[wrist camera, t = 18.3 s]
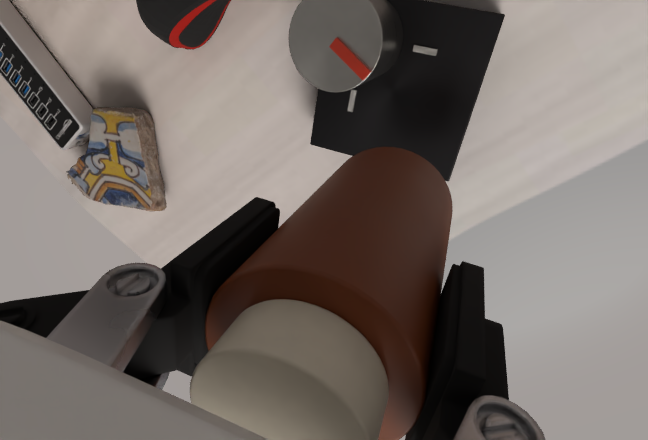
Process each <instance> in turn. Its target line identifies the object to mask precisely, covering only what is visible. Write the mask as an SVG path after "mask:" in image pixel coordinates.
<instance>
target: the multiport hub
mask: <svg viewBox="0 0 648 440" xmlns="http://www.w3.org/2000/svg"><path fill="white" fill-rule="evenodd" d="M0 74H1V76H2V77H3V78H4V79H5V80H6V82H7V83H8V84H9V85H10V87H11V88H12V89H13V90H14V92H15V93H16V94H17V95H18V97H19V98H20V99H21V100H22V102H23V103H24V104H25V105H26V107H27V108H28V109H29V110H30V111H31V113H32V114H33V115H34V116H35V118H36V119H37V120H38V121H39V123H40V124H41V125H42V126H43V128H44V129H45V130H46V131H47V133H48V134H49V135H50V136H51V138H52V139H53V140H54V141H55V142H56V144H57V145H58V146H59V147H60V149H62V150H66V149H70V148H73V147H77V146H80V145H83V144H85V143H86V142H87V141H88V139H89V131H90V124H91V118H90V116H91V114H92V111H93V108H92V107H91V106H90V104H89V103H88V102H87V100H86V99H85V98H84V97H83V95H82V94H81V93H80V91H79V90H78V89H77V88H76V86H75V85H74V84H73V82H72V81H71V80H70V78H69V77H68V76H67V75H66V73H65V72H64V71H63V69H62V68H61V67H60V66H59V64H58V63H57V62H56V60H55V59H54V58H53V57H52V55H51V54H50V53H49V51H48V50H47V49H46V47H45V46H44V45H43V44H42V42H41V41H40V40H39V38H38V37H37V36H36V35H35V33H34V32H33V31H32V29H31V28H30V27H29V25H28V24H27V23H26V22H25V20H24V19H23V18H22V16H21V15H20V14H19V13H18V11H17V10H16V9H15V7H14V6H13V5H12V3H11V2H10V1H9V0H0Z"/></svg>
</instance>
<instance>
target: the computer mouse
mask: <svg viewBox="0 0 648 440" xmlns="http://www.w3.org/2000/svg"><path fill="white" fill-rule="evenodd" d="M230 1H231V0H136V2H137V7H138V11H139V14H140V16H141V19H142V20H143V22H144V23H145V25H146V26H147V28H148V29H149V30H150V31H151V32H152V33H153V34H154V35H156V36H157V37H159V38H160V39H161V40H163V41H164V42H166V43H168V44H169V45H171V46H173V47H176V48H185V49H196V48H199V47H200V46H202V45H203V44H205V43H206V42H207V41H208V40H209V39H210V38H211V36H212V35H213V34H214V32H215V30H216V29H217V27H218V25H219V23H220V22H221V20H222V18H223V16H224V13H225V11H226V9H227V6H228V4H229V2H230Z"/></svg>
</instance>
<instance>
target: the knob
mask: <svg viewBox="0 0 648 440" xmlns="http://www.w3.org/2000/svg"><path fill="white" fill-rule="evenodd" d="M402 43H403V27H402V22H401V19H400V17H399V14H398V12H397V11H396V9H395V8H394V7H393V5H392V4H391V3H390V2H388V1H387V0H302V1H301V3H300V4H299V5H298V7H297V9H296V10H295V12H294V15H293V17H292V20H291V24H290V29H289V47H290V53H291V56H292V59H293V62H294V64H295V66H296V68H297V70H298V71H299V73H300V74H301V75H302V77H303V78H304V79H305V80H306V81H307V82H309V83H310V84H311V85H313V86H314V87H316V88H318V89H321V90H324V91H327V92H344V91H348V90H350V89H353V88H355V87H357V86H359V85H361V84H363V83H366V82H368V81H370V80H372V79H374V78H376V77H378V76H380V75H382V74H383V73H385V72H386V71H387V70H388V69H389V68H390V67H391V66H392V65H393V64H394V63H395V61H396V59H397V58H398V56H399V53H400V51H401V47H402Z"/></svg>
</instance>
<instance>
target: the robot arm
mask: <svg viewBox="0 0 648 440" xmlns="http://www.w3.org/2000/svg"><path fill="white" fill-rule="evenodd" d="M279 216H280V210H279V209H278V208H275V203H274V202H271V201H268V200H265V199H261V198H258V197H256V198H254V199H253V200H252V201H250V202H249V203H248V204H246V205H245V206H244V207H242V208H241V209H240V210H238V211H237V212H236V213H234V214H233V215H232V216H230V217H229V218H228V219H226V220H225V221H224V222H222V223H221V224H220V225H218V226H217V227H216V228H214V229H213V230H212V231H210V232H209V233H208V234H206V235H205V236H204V237H202V238H201V239H200V240H198V241H197V242H196V243H194V244H193V245H192V246H190V247H189V248H188V249H186V250H185V251H184V252H182V253H181V254H180V255H178V256H177V257H176V258H174V259H173V260H172V261H170V262H169V263H168V264H167V265H165V266H164V267H163V268H161V269H160V268H158V267H157V266H155V265H151V264H147V263H131V264H125V265H121V266H118V267H116V268H114V269H112V270H109V272H107V273H106V274H105V275H103V276H102V277H101V278H100V279H99V281H98V282H97V283H96V284H95V285H94V286H93V287H92V288H91V289H90V290H86V291H80V292H72V293H65V294H58V295H51V296H43V297H36V298H30V299H22V300H15V301H9V302H4V303H0V440H269V439H267V438H264V437H262V436H260V435H258V434H256V433H254V432H251V431H249V430H247V429H245V428H243V427H241V426H238V425H236V424H234V423H232V422H230V421H228V420H226V419H223V418H221V417H219V416H217V415H215V414H213V413H210V412H208V411H206V410H204V409H202V408H200V407H197V406H195V405H193V404H191V403H189V402H186V401H184V400H182V399H180V398H178V397H176V396H174V395H171V394H169V393H167V392H164V391H163V390H162V389H163V387H164V385H165V382H166V380H167V378H168V376H169V372H171V371H175V370H178V371H181V372H183V373H185V374H187V375H190V376H192V375H193V372H194V370H195V368H196V366H197V365H198V364H199V362H200V361H201V360H202V359H203V358H204V356H205V355H206V354H207V353H208V352H209V351H208V348H207V343H206V338H205V320H206V314H207V310H208V307H209V304H210V302H211V299H212V297H213V295H214V294H215V292H216V291H217V290H218V288H219V287H220V286H221V285H222V284H223V283H224V282H225V281H226V280H227V279H228V278H229V277H230V276H231V275H232V274H233V273H234V272H235V271H236V270H237V269H238V268H239V267H240V266H241V265H242V264H243V263H244V262H245V261H246V260H247V259H248V258H249V257H250V256H251V255H252V254H253V253H254V252H255V251H256V250H257V249H258V248H259V247H260V246H261V245H262V244H263V243H264V242H265V241H266V240H267V239H268V238H269V237H270V236H271V235H272V234H273V233H274V232H275V231H276V230H277V229H278V224H279ZM405 440H545V437H544V434H543V432H542V430H541V429H540V427H539V426H538V424H537V423H536V421H534V419H533V418H532V417H531V416H530V415H529V414H528V413H527V412H526V411H525V410H523V409H522V408H521V407H519V406H518V405H516V404H515V403H513V402H511V401H509V397H508V384H507V372H506V360H505V348H504V335H503V327H502V325H501V324H499V323H496V322H494V321H491V320H488V319H485V306H484V268H482V267H479V266H476V265H473V264H470V263H466V262H462V263H461V265H460V266H459V265H455V264H453V265H452V267H451V270H450V272H449V275H448V277H447V280H446V283H445V285H444V288H443V290H442V293H441V296H440V303H439V310H438V317H437V324H436V331H435V338H434V345H433V352H432V359H431V366H430V373H429V380H428V387H427V394H426V400H425V403H424V406H423V408H422V411H421V414H420V416H419V418H418V420H417V422H416V424H415V425H414V426H413V427H412V428H411V430H410V431H409V432H408V433H407V434H406V438H405Z"/></svg>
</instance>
